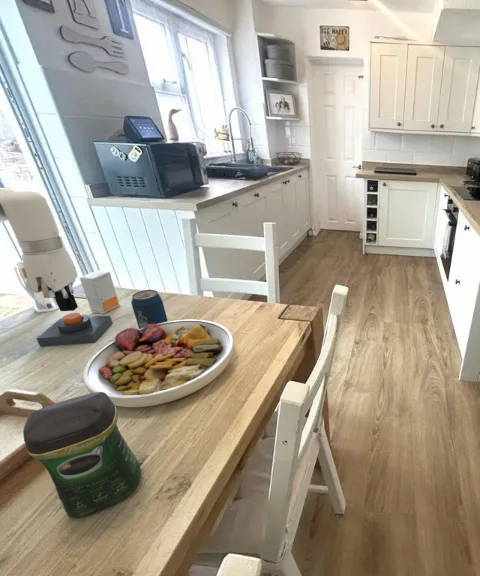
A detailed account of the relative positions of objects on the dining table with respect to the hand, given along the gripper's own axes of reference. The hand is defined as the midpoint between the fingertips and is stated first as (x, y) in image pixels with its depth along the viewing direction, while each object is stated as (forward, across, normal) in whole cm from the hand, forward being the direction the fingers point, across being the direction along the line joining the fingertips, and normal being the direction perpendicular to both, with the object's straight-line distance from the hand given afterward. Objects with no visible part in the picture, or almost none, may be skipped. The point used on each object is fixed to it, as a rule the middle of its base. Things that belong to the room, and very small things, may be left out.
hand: (69, 309), depth 86 cm
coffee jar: (+8, +50, +28) cm, 58 cm away
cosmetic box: (+8, -14, 0) cm, 16 cm away
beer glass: (+8, -17, -16) cm, 25 cm away
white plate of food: (+8, +19, +28) cm, 35 cm away
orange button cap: (+4, 0, 0) cm, 4 cm away
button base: (+8, 0, 0) cm, 8 cm away
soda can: (+8, +1, +19) cm, 21 cm away
